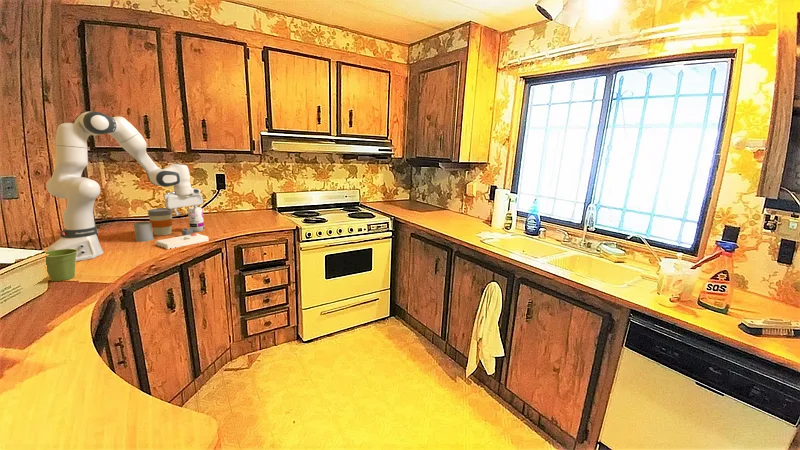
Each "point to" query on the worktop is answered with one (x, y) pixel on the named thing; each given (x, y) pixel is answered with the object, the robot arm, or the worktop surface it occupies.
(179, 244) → the socket plate
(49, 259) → the plant pot
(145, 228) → the cup
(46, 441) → the worktop surface
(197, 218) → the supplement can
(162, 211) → the reusable coffee cup
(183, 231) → the plug
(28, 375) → the worktop surface
